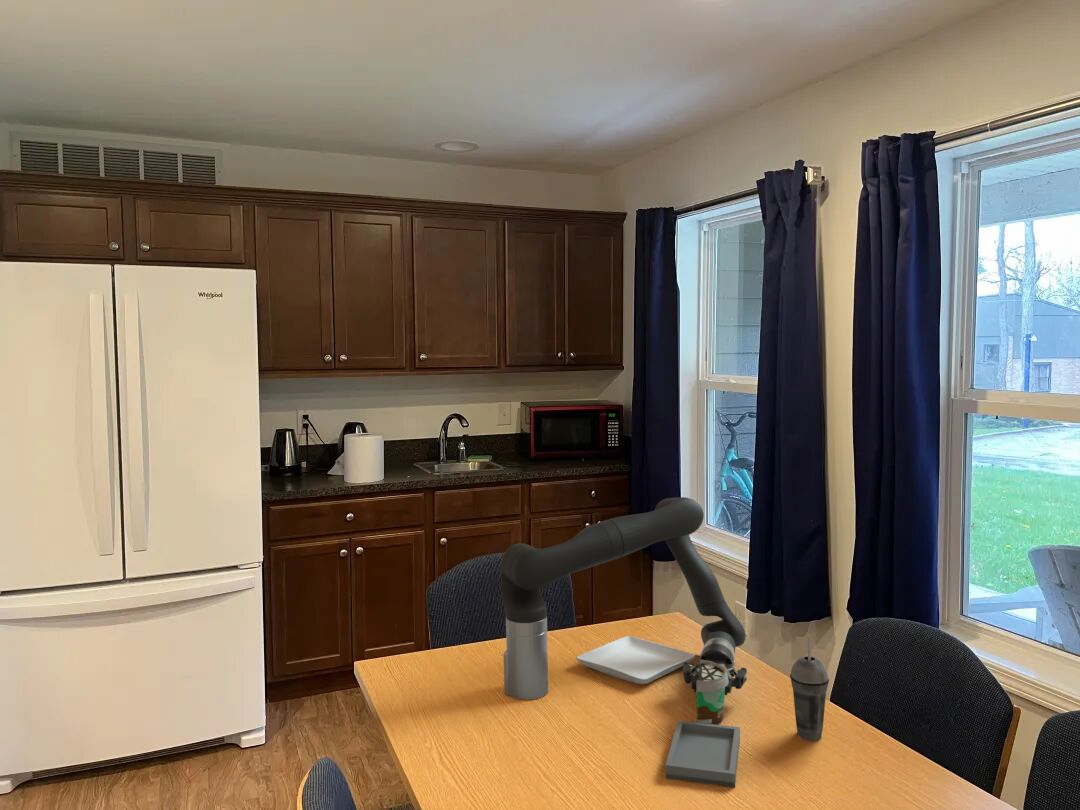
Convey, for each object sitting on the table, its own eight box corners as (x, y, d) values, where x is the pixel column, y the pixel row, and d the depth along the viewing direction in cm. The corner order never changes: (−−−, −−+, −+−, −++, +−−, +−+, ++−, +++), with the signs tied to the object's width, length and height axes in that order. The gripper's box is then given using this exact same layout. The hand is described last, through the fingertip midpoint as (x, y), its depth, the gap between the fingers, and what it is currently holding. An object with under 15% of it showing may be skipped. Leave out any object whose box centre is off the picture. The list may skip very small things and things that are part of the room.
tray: (665, 778, 141) (665, 764, 141) (678, 732, 158) (677, 720, 158) (734, 787, 138) (734, 773, 138) (740, 739, 155) (740, 727, 155)
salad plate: (628, 646, 207) (627, 633, 207) (697, 667, 192) (697, 653, 192) (573, 670, 192) (573, 656, 192) (644, 694, 177) (644, 679, 177)
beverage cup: (828, 729, 158) (828, 631, 157) (829, 746, 151) (829, 643, 150) (790, 724, 160) (790, 627, 159) (789, 741, 154) (789, 640, 152)
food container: (728, 733, 157) (728, 684, 157) (696, 730, 159) (696, 681, 158) (729, 706, 169) (729, 661, 169) (699, 704, 171) (699, 658, 170)
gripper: (685, 640, 182) (675, 667, 166) (749, 645, 178) (746, 674, 162) (685, 672, 182) (675, 703, 166) (750, 678, 178) (746, 710, 162)
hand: (710, 689), depth 164 cm, fingers open, 5 cm apart
